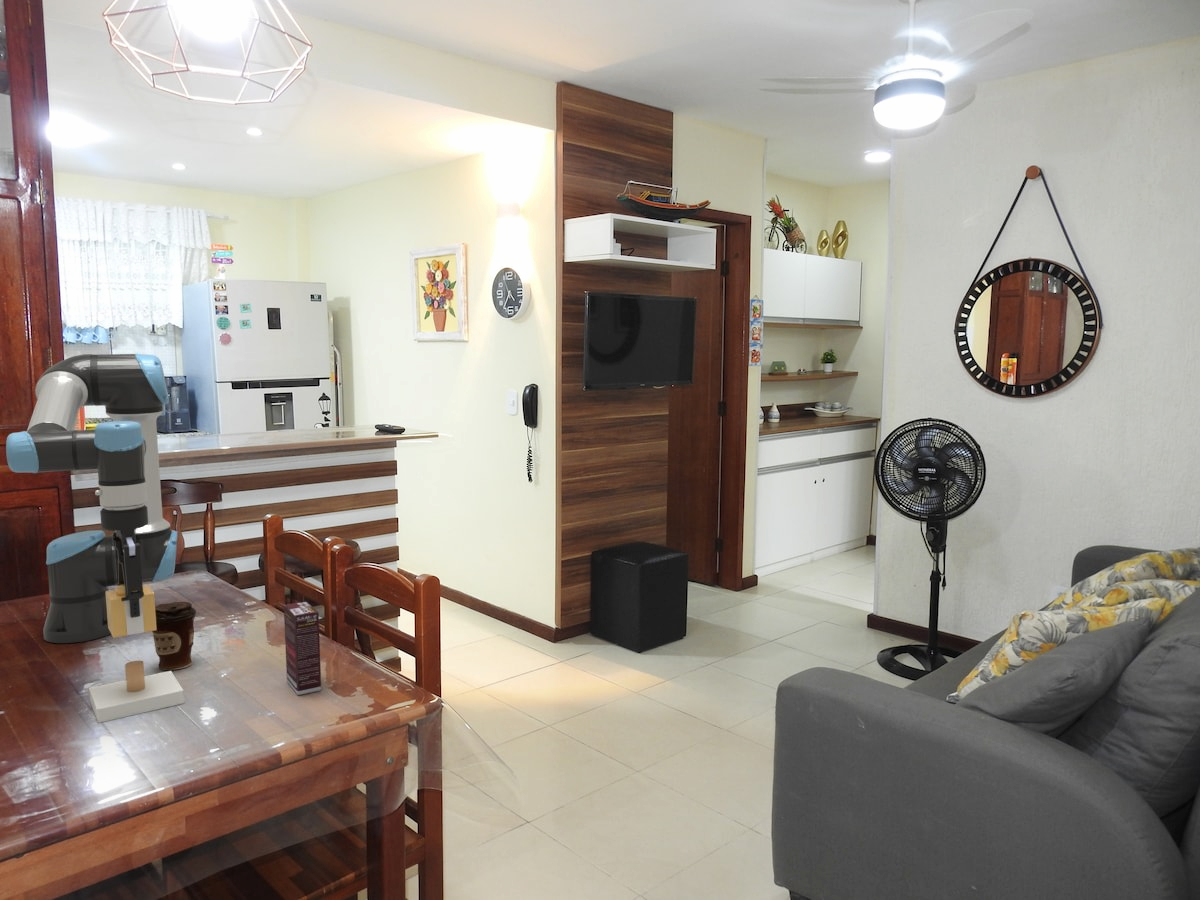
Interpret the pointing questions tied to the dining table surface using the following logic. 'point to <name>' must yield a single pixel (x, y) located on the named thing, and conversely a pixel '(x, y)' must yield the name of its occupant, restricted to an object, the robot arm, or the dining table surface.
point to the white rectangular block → (135, 693)
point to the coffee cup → (174, 634)
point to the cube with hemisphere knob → (117, 611)
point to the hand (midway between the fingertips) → (132, 627)
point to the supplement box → (302, 647)
